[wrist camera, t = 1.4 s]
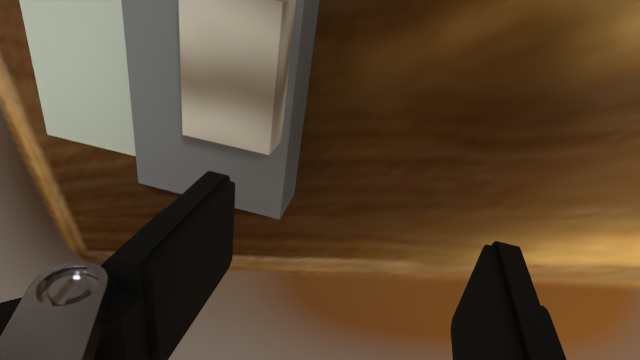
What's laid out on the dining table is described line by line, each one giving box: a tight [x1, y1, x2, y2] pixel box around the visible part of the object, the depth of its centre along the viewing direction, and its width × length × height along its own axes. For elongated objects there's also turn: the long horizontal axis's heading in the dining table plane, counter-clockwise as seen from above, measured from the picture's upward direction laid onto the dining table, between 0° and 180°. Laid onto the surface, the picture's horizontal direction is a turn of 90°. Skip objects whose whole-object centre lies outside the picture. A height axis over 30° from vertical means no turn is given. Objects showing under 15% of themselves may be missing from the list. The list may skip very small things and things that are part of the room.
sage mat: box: [19, 0, 136, 156], centre depth 31 cm, size 22×12×1 cm, turn 172°
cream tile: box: [179, 0, 296, 155], centre depth 24 cm, size 9×6×2 cm, turn 172°
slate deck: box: [121, 0, 320, 219], centre depth 28 cm, size 22×12×4 cm, turn 172°
